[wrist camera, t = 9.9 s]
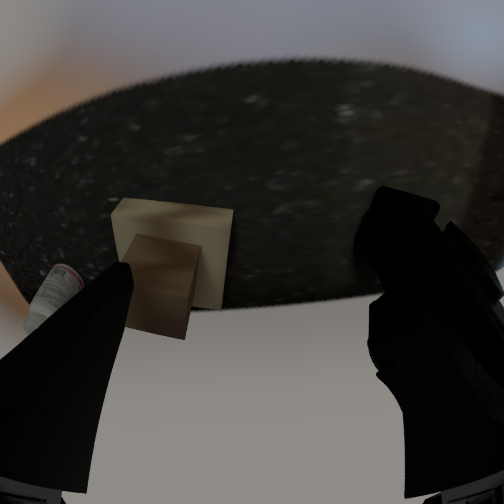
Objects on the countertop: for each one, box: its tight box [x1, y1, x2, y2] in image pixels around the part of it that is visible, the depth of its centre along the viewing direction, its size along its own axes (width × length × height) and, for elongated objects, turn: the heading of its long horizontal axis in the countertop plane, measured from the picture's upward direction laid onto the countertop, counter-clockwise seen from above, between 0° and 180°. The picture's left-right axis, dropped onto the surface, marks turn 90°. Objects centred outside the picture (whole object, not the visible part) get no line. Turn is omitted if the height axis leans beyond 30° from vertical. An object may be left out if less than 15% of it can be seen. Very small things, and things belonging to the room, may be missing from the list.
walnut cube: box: [121, 233, 201, 340], centre depth 19 cm, size 5×5×5 cm
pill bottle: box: [24, 264, 85, 334], centre depth 23 cm, size 5×5×8 cm
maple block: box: [111, 198, 233, 310], centre depth 23 cm, size 9×9×3 cm
